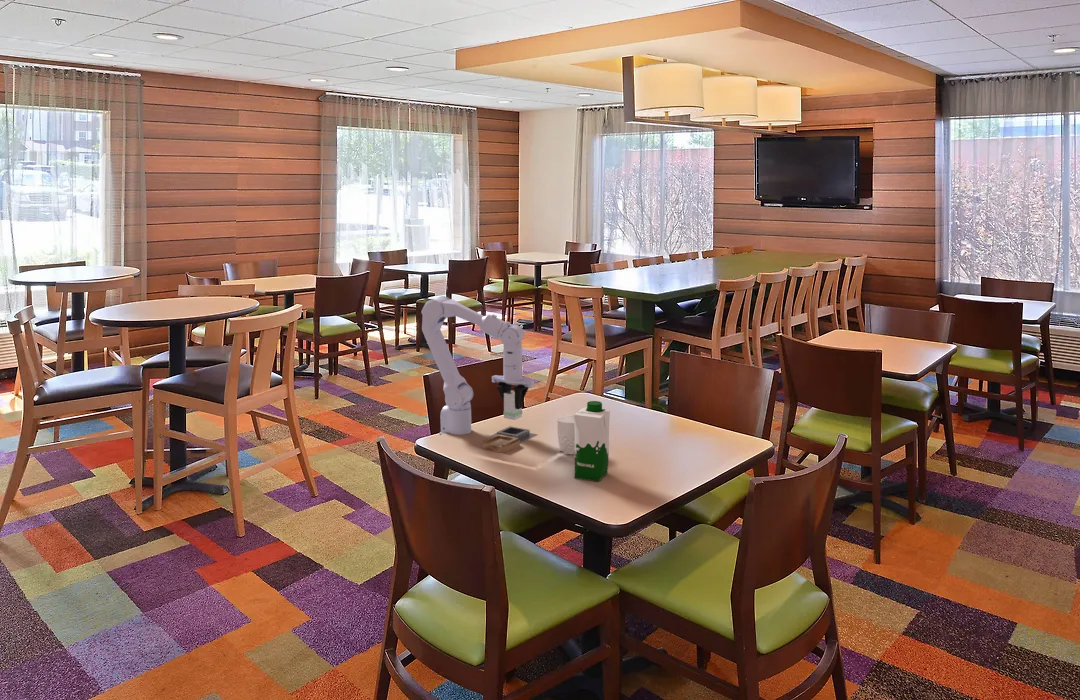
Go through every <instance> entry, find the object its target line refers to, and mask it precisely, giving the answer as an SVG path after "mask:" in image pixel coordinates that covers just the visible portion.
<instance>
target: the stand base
mask: <svg viewBox="0 0 1080 700" xmlns="http://www.w3.org/2000/svg"><path fill="white" fill-rule="evenodd" d="M497 434H500V435H505V436H510V437H515V438H519V441H520V444H521V443H524V442H526V441H529V440H530V439H532V438H534V437H536V436H538V433H537V434H536V433H532V432H531V431H530V429H526V428H523V427H522V428H521V427H517V426H510V425H509V426H508V427H505V428H502V429H501V430H498V431H496V433H493V434H491V435H489V436H488V438H491V437H493V436H495V435H497Z"/></svg>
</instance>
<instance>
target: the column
mask: <svg viewBox="0 0 1080 700" xmlns="http://www.w3.org/2000/svg"><path fill="white" fill-rule="evenodd" d="M522 417H523V407H522V408H520V409H516V397H515V392H514V390H510V391H508V392H505V393H504V404H503V418H504V419H507V420H513V421H516V420H518V419H520V418H522Z"/></svg>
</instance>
